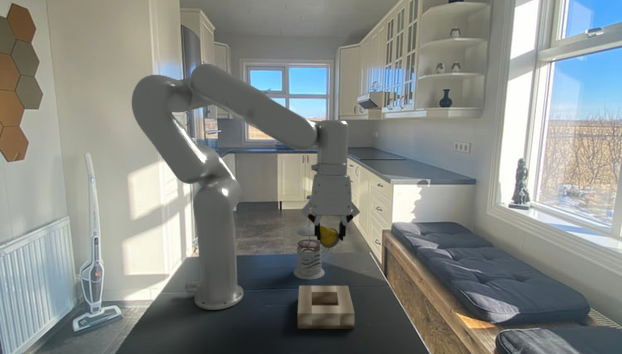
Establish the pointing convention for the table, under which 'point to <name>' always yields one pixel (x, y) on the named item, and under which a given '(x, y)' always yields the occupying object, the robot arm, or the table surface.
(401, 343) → the table surface
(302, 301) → the socket block
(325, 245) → the yellow stepped cone
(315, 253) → the french press
